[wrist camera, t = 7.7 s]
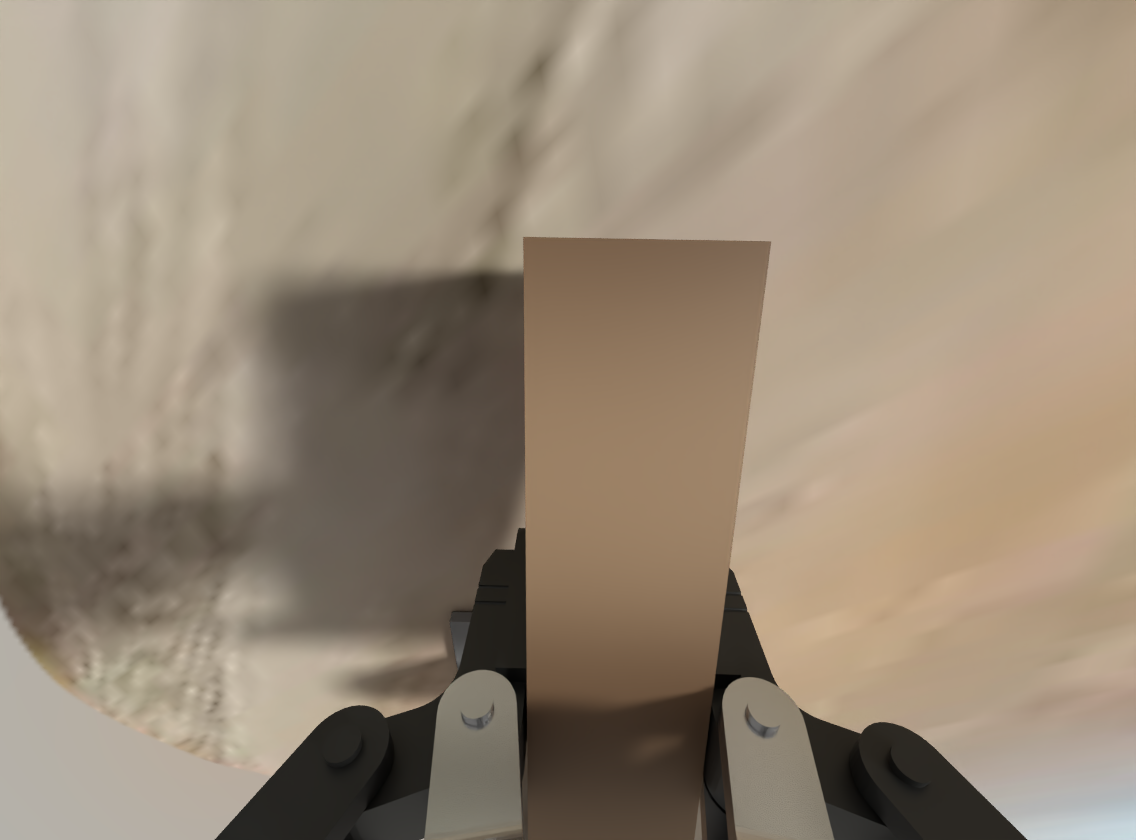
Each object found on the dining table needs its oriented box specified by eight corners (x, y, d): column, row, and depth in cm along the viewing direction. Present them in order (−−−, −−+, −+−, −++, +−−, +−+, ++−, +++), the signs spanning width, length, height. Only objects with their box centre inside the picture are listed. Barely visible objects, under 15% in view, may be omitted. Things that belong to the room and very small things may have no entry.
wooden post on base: (447, 261, 11) (318, 232, 6) (773, 267, 11) (979, 245, 6) (471, 739, 16) (410, 1005, 10) (710, 745, 15) (791, 1017, 10)
